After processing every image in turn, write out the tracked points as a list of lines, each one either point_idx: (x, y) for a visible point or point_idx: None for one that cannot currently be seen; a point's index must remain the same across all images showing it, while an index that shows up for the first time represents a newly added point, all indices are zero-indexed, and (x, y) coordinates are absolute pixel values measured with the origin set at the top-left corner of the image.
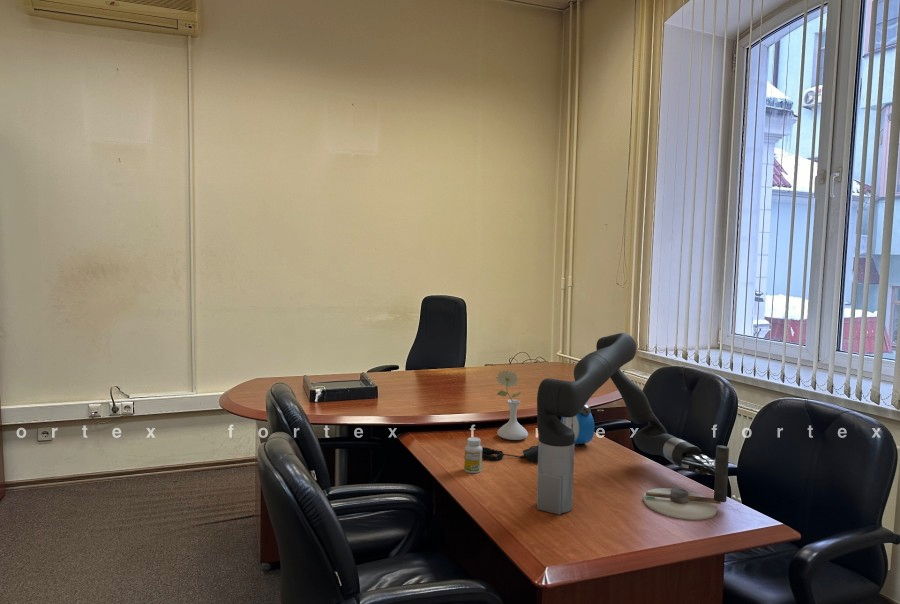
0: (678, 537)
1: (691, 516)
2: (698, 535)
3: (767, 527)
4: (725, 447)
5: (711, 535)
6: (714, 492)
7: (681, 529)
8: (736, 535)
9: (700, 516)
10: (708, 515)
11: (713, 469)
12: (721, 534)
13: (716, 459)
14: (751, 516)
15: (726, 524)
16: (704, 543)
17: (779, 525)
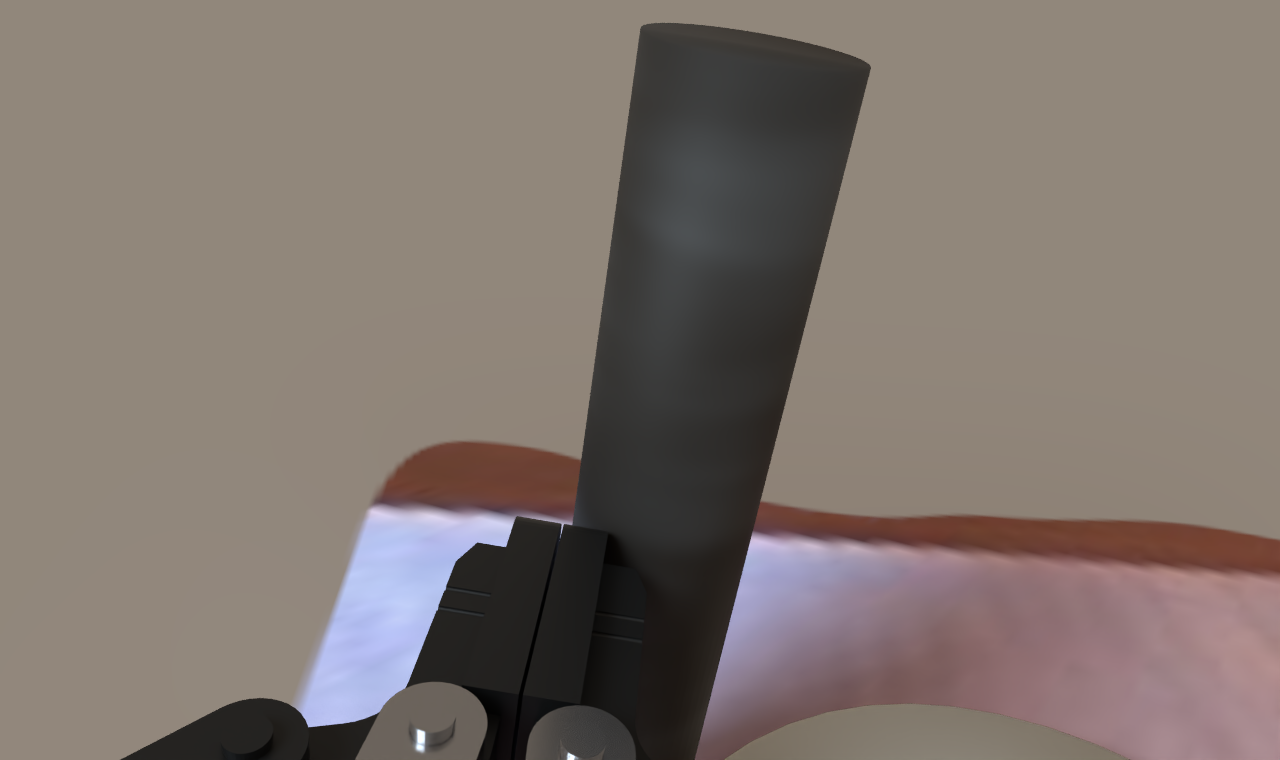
0: (1246, 612)
1: (1072, 741)
2: (1089, 588)
3: (499, 508)
4: (704, 36)
5: (994, 563)
6: (700, 734)
7: (1200, 676)
8: (817, 517)
9: (980, 714)
10: (883, 711)
11: (599, 670)
12: (914, 551)
13: (809, 302)
14: (423, 638)
15: (778, 620)
16: (1084, 526)
17: (376, 496)
